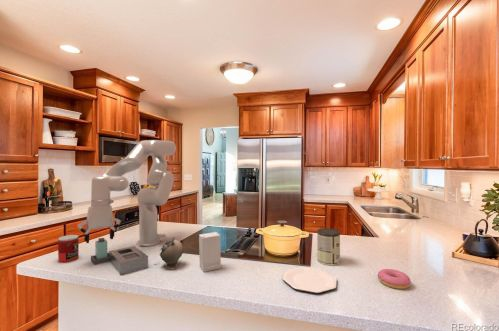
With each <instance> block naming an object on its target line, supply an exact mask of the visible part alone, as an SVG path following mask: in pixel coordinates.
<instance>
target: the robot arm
mask: <svg viewBox="0 0 499 331" xmlns="http://www.w3.org/2000/svg"><path fill="white" fill-rule="evenodd" d="M176 151H177V146H176V144H175V142H173V141H171V140H159V139H148V140H146V139H145V140H141V141H139V142H137V144H135V146H134V147H133V148H132V149H131V151H130V152H129V153H128V154H127V155H126V157H124V158H123V159H121V160H119V161H118V162H116V163H115V164H113V165H111V166H110V167H109V168H108V169H107V170H106V171H105V172H104V173H103V175H102V176H93V177H92V178H91V193H90V194H91V196H90V206H88V209H87V215H86V220H83V221H82V222H80V223H78V224H77V228H78V229H79V231H80V232H81V233H82V234H84V235H83V236H84V238H83V239H84V242H85V243H86V244H90V232H91V231H92V230H98V229H99V230H101V229H106V228H110V230H109V239H110V240H114V237H115V231H116V230H117V228H118V227H119V226H120V225H121V223H122V220H120V219H119V218H116V217H114V214H113V212H114V211H113V206H112V205H111V204H112V203H114V200H113V199H111V192H123V191H125V190H127V188H128V187H129V185H130V184H129V180H128V178H127V177H125V176H123V175H125V174H127V173H131V172H133V171H137V170H138V169H140V168H141V166H142V165H143V163H144V162H145V161H147V158H148V157H149V156H151V158H152V163H151V167H150V168H149V169H150V170H149V172H148V175H147V177H146V184H147V185H148V186H149V187H143V188H141V189H140V190H139V191H138V192H137V195H136V198H137V204H138V210H139V212H138V214H139V216H138V218H139V219H138V221H139V222H138V223H139V226H138V227H139V235H138V236H139V239H138V240H137V241H136V245H137V246H138V247H152V246H153V247H154V246H156V245H158V244H160V243H161V238H162V239H163V238H166V237H167V235H166V233H158V208H157V206H164V205H165V204H166V203H167V202H168V199H169V197H170V195H171V192H172V188H173V185H174V181H175V179H174V174H173V173H172V171H169V170H167V169H168V162H167V159H166V157H165V156H172V155H174V154H175V153H176ZM114 222H116V223H115V224H114ZM83 226H86V229H85V228H84V227H83Z"/></svg>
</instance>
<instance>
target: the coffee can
mask: <svg viewBox="0 0 499 331" xmlns="http://www.w3.org/2000/svg"><path fill="white" fill-rule="evenodd" d="M316 233H317V238H316V239H317V240H316V243H317V244H316V247H317V249H316V250H317V252H316V253H317V255H316V256H317V262H318V263H320V264H322V265H323V266H324V265H325V266H332V267H333V266H338V265H340V264H341V231H340V230H338V229H336V228H335V229H334V228H326V227H324V228H318V229H316Z"/></svg>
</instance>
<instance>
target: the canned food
mask: <svg viewBox="0 0 499 331" xmlns="http://www.w3.org/2000/svg"><path fill="white" fill-rule="evenodd" d="M57 239H58V240H57V255H58V256H57V260H58V263H62V264H64V263H65V264H66V263H71V262H74V261H78V259H79V254H80V253H79V246H80V245H79V243H80V242H79V240H80V239H79V235H77V234H69V235H63V236H60V237H58V238H57Z"/></svg>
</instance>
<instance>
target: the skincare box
mask: <svg viewBox="0 0 499 331" xmlns="http://www.w3.org/2000/svg"><path fill="white" fill-rule="evenodd" d="M198 244H199V245H198V246H199V248H198V250H199V251H198V252H199V256H198V257H199V268H200V270H201V272H202V273H206V272H210V271H213V270H218V269H221V268H222V264H221V262H222V260H221V258H222V256H221V235H220V234H219V233H218V232H217V231H213V232H208V233H207V232H206V233H201V234H198Z"/></svg>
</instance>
